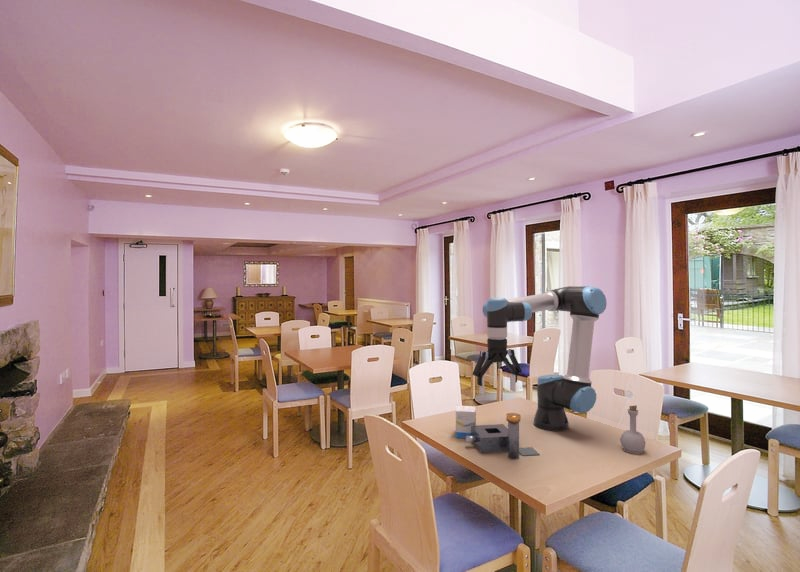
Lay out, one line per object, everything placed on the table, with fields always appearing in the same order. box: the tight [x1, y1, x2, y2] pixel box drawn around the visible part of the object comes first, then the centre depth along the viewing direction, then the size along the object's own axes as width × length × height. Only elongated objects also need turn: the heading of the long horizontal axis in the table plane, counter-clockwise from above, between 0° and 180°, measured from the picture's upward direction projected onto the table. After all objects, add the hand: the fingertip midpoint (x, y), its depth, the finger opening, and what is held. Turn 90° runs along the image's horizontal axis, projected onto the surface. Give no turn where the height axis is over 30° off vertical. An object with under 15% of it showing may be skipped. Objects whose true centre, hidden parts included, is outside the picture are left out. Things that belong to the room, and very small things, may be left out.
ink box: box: [455, 405, 477, 439], centre depth 185 cm, size 9×8×12 cm
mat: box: [519, 446, 541, 457], centre depth 166 cm, size 7×7×1 cm
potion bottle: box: [619, 405, 646, 455], centre depth 167 cm, size 9×9×18 cm
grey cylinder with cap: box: [505, 412, 521, 460], centre depth 162 cm, size 5×5×16 cm
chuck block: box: [465, 423, 508, 454], centre depth 173 cm, size 18×14×6 cm
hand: (497, 392), depth 166 cm, fingers open, 13 cm apart
